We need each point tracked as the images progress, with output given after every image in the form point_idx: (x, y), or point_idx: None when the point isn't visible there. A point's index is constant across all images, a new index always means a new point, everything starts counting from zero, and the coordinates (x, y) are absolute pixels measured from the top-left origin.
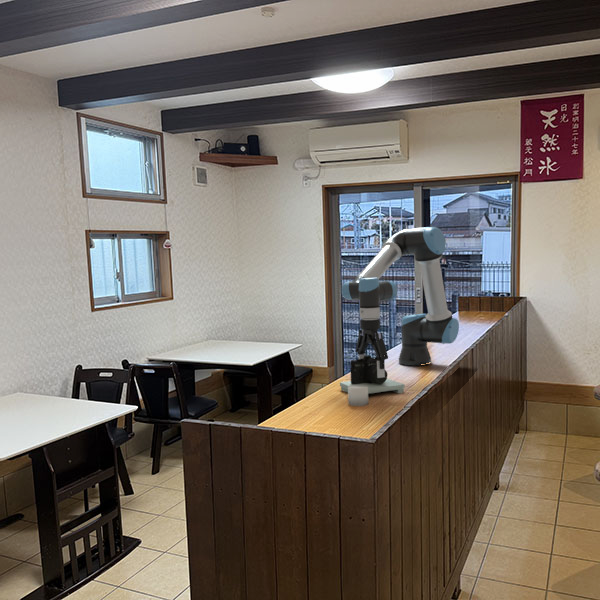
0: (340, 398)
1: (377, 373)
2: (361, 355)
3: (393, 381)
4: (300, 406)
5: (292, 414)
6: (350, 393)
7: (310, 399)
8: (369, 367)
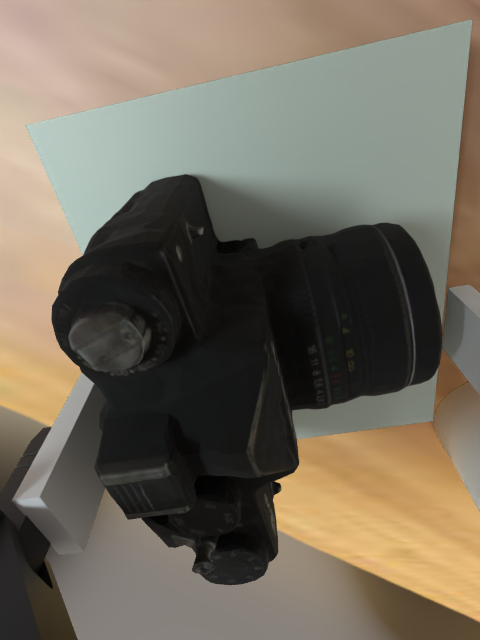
0: (348, 452)
1: (465, 372)
2: (76, 530)
3: (286, 93)
4: (383, 562)
5: (461, 585)
6: None
7: (304, 531)
8: (291, 411)
